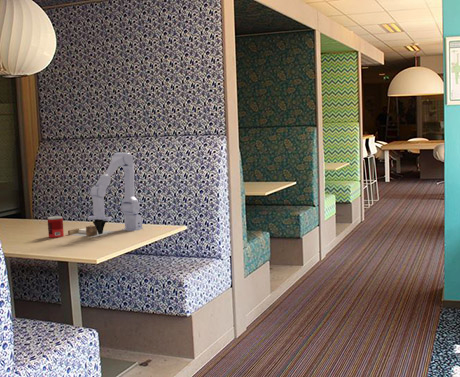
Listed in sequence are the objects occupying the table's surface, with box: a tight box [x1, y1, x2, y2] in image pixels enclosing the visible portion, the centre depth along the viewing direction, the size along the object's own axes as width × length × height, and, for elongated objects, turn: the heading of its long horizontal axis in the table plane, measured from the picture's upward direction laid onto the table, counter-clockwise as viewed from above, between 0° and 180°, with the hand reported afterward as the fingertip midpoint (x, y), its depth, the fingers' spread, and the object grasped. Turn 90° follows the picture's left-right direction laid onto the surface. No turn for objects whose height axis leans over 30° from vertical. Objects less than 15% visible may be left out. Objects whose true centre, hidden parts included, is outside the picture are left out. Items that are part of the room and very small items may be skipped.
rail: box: [67, 228, 80, 236], centre depth 342 cm, size 2×7×2 cm, turn 152°
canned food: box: [47, 215, 65, 239], centre depth 335 cm, size 8×8×11 cm
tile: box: [79, 227, 86, 234], centre depth 344 cm, size 2×7×7 cm
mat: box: [72, 230, 116, 238], centre depth 342 cm, size 20×17×1 cm
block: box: [85, 225, 97, 237], centre depth 335 cm, size 4×4×5 cm
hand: (100, 233), depth 332 cm, fingers closed
